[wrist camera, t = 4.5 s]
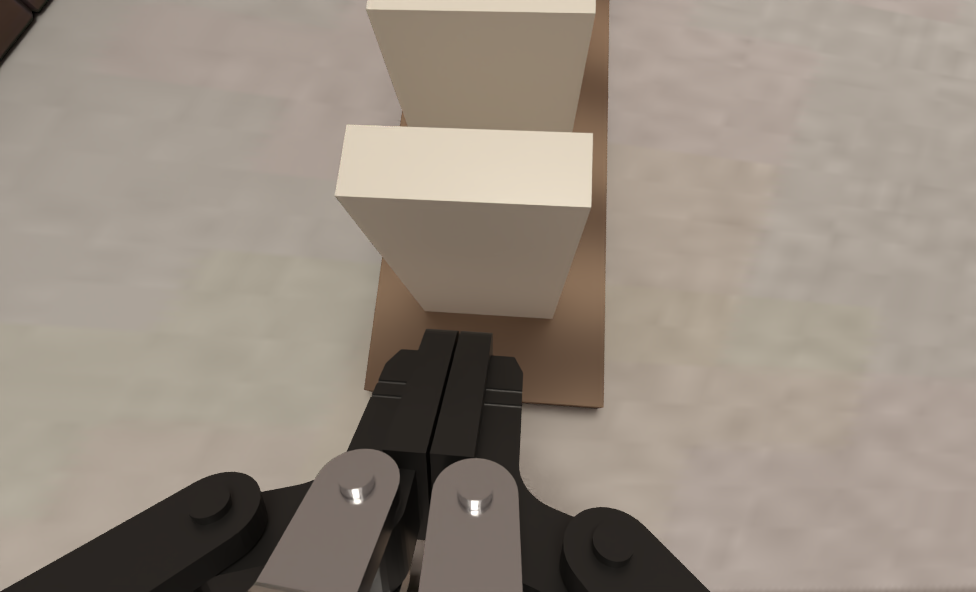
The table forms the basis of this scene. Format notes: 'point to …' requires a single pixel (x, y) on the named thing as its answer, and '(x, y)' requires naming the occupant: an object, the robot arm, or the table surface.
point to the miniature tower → (15, 20)
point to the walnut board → (581, 307)
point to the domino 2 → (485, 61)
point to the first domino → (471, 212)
